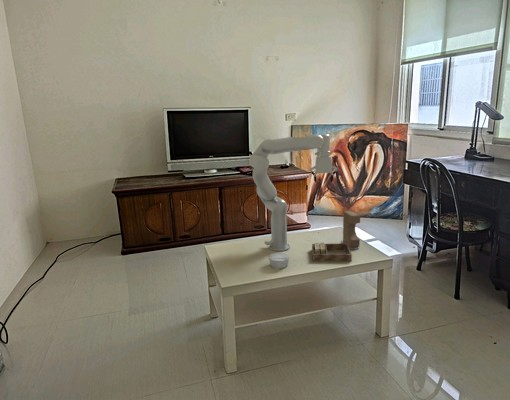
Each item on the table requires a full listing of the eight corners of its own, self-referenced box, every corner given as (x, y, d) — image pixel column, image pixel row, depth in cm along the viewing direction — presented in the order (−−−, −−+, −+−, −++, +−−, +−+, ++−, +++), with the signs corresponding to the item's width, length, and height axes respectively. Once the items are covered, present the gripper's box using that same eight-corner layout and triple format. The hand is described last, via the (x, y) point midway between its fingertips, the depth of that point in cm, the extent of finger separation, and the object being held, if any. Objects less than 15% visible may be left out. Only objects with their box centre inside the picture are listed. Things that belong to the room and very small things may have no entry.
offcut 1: (315, 259, 204) (315, 249, 202) (314, 252, 213) (314, 242, 212) (319, 259, 204) (319, 249, 202) (318, 252, 213) (318, 242, 212)
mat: (343, 249, 216) (343, 248, 216) (340, 241, 228) (340, 240, 228) (358, 249, 215) (358, 248, 215) (355, 241, 227) (355, 240, 227)
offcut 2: (320, 259, 203) (320, 249, 202) (319, 252, 213) (319, 242, 212) (325, 259, 203) (325, 249, 202) (323, 252, 213) (323, 242, 211)
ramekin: (277, 271, 190) (277, 262, 189) (265, 265, 199) (264, 256, 198) (293, 265, 196) (293, 256, 195) (280, 259, 205) (280, 251, 204)
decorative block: (359, 246, 216) (360, 215, 212) (351, 248, 215) (351, 216, 210) (350, 240, 227) (351, 210, 222) (342, 241, 226) (343, 211, 221)
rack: (313, 261, 201) (313, 254, 200) (312, 249, 217) (312, 243, 216) (351, 261, 198) (351, 254, 197) (347, 249, 214) (347, 243, 213)
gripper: (309, 155, 217) (309, 183, 221) (338, 154, 215) (338, 182, 219) (309, 154, 224) (309, 181, 228) (337, 153, 222) (336, 180, 226)
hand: (323, 181), depth 224 cm, fingers open, 9 cm apart
